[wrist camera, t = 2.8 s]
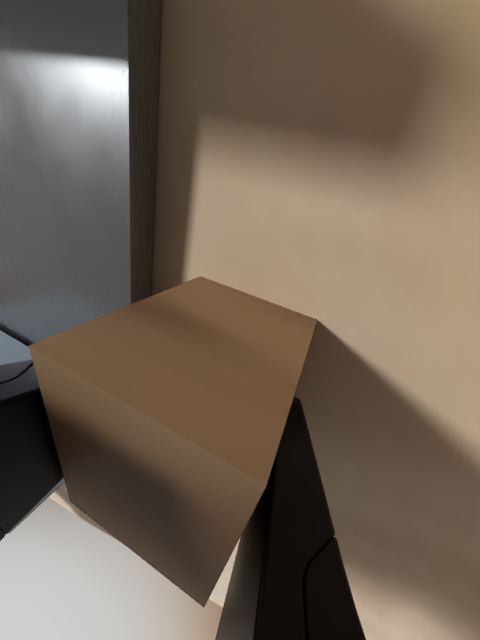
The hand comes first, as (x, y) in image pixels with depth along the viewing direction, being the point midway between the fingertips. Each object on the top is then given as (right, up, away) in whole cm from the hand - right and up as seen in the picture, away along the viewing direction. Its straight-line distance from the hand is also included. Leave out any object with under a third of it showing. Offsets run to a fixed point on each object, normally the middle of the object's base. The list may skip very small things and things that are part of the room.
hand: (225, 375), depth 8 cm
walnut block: (0, 0, +1) cm, 1 cm away
